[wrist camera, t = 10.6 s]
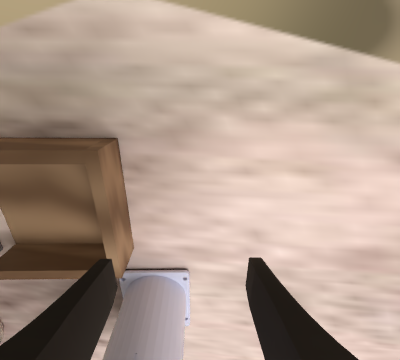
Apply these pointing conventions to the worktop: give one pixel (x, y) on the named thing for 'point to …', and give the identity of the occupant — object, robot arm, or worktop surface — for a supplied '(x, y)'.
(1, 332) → the supplement can
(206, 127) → the worktop surface
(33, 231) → the walnut box
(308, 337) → the robot arm
